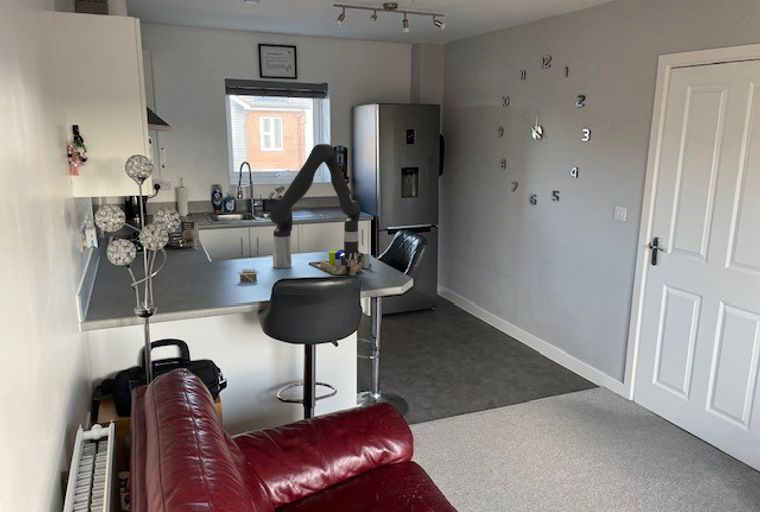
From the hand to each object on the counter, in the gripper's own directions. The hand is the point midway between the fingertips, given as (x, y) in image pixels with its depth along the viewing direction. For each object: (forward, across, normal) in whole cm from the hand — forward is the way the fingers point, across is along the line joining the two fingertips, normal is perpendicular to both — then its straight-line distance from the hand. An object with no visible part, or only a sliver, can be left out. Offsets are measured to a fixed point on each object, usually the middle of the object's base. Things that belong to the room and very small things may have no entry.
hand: (351, 272), depth 292 cm
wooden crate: (+2, -51, +12) cm, 52 cm away
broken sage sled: (+1, +14, +19) cm, 23 cm away
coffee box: (+2, -53, +119) cm, 130 cm away
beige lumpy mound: (+1, 0, +9) cm, 9 cm away
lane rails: (+1, +5, +21) cm, 22 cm away
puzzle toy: (+1, 0, +12) cm, 12 cm away
